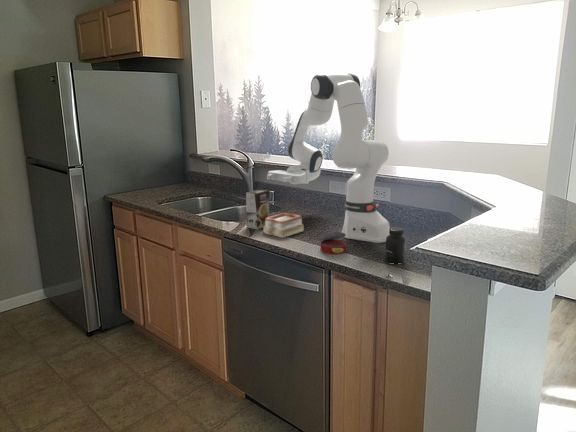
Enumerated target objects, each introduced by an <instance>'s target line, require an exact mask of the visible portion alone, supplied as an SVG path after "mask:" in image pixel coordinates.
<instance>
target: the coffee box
mask: <svg viewBox="0 0 576 432" xmlns="http://www.w3.org/2000/svg"><path fill="white" fill-rule="evenodd" d="M269 192H270V191H269V190H267V189H265V190H264V189H255V190H250V191H246V192H245V197H246V198H245V204H246V205H245V206H246V208H245V209H246V228H248V229H253V230H260V229H262V228H263V226H265V218H267V217H270V204H269V203H270V200H269V199H270V198H269V196H270V195H269V194H270V193H269Z"/></svg>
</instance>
